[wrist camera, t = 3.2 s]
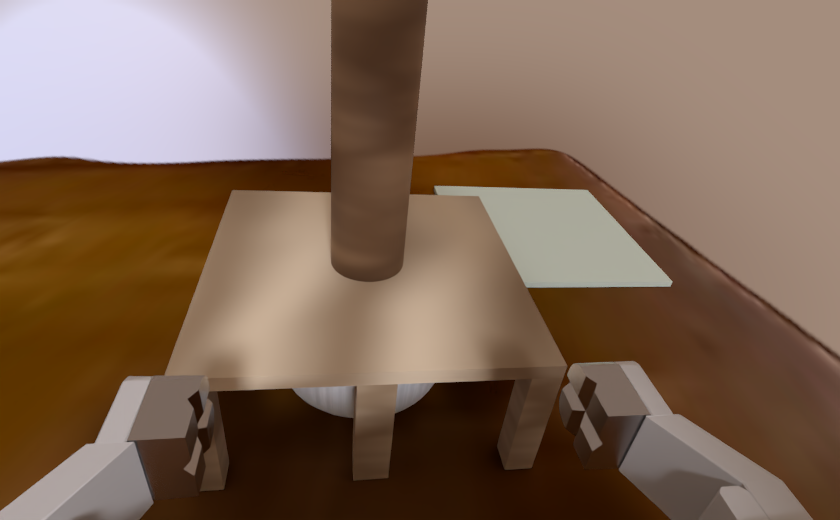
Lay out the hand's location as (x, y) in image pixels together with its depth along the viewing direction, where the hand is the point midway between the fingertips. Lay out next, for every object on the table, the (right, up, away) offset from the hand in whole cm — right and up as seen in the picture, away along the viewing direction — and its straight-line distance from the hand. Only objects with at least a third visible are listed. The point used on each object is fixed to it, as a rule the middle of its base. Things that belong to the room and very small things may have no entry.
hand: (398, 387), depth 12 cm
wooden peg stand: (-2, -2, +15) cm, 15 cm away
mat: (+10, +5, +28) cm, 30 cm away
